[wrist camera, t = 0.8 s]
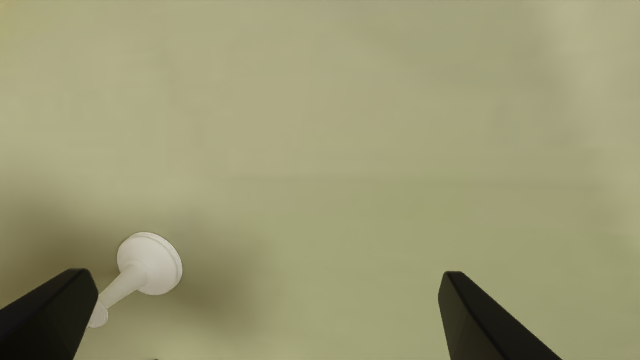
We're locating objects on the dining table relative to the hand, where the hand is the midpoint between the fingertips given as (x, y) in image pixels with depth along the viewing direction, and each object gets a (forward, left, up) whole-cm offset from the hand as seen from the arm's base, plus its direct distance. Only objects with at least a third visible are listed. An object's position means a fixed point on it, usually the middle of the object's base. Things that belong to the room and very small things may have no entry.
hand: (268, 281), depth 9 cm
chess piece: (+4, +16, -13) cm, 21 cm away
